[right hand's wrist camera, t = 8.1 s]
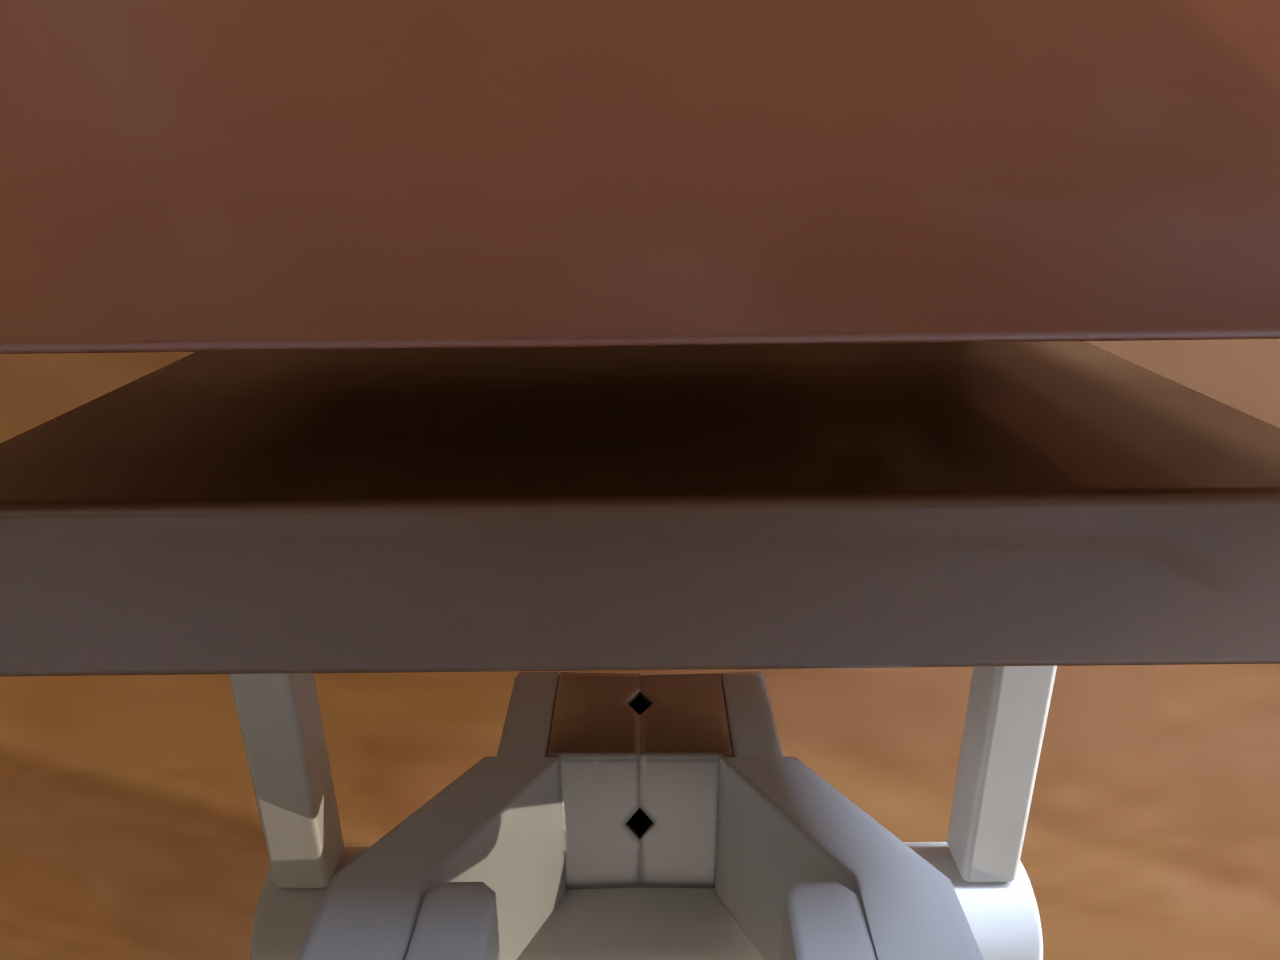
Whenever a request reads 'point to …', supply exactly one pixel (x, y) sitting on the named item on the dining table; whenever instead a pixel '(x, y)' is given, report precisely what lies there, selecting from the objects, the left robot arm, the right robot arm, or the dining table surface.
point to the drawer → (642, 555)
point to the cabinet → (635, 173)
